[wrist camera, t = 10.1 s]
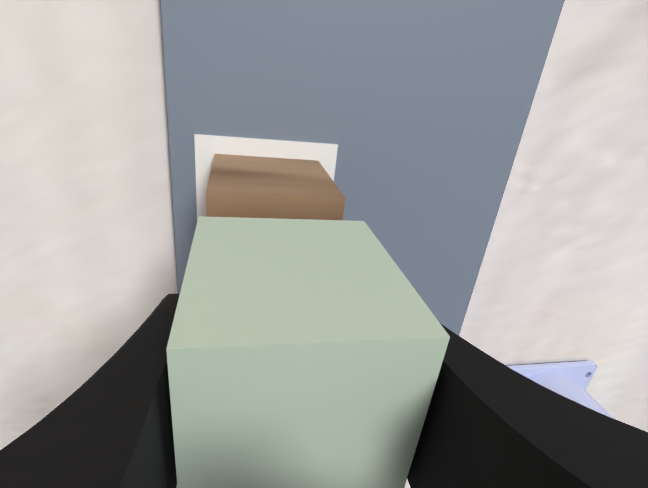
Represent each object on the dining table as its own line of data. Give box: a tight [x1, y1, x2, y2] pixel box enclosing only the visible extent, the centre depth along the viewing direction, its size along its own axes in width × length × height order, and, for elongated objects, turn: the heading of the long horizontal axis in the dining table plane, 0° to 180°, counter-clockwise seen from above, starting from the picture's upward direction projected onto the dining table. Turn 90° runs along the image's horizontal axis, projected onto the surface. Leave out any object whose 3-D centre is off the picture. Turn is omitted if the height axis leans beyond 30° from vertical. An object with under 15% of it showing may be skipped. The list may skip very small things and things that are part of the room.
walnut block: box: [206, 154, 346, 220], centre depth 15 cm, size 4×4×5 cm
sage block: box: [166, 216, 450, 488], centre depth 9 cm, size 4×4×5 cm
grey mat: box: [160, 0, 565, 336], centre depth 19 cm, size 20×16×1 cm
